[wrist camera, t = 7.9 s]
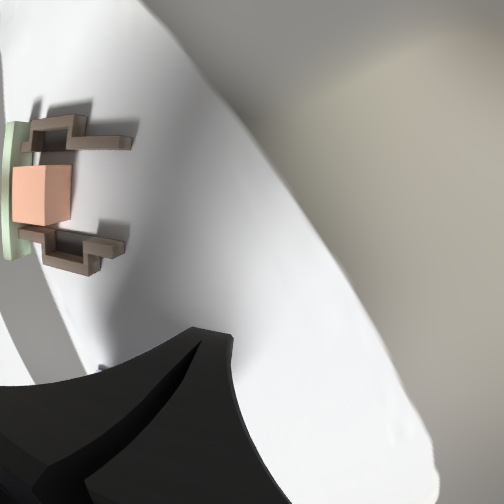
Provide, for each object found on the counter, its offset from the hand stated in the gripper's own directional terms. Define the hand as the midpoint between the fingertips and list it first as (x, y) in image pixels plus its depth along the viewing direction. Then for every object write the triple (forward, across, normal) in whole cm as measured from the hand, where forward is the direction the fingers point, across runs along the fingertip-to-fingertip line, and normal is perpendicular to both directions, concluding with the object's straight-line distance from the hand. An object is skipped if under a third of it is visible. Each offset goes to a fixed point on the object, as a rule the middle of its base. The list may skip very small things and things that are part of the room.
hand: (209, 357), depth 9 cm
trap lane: (+9, +14, -4) cm, 17 cm away
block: (+10, +16, -3) cm, 19 cm away
